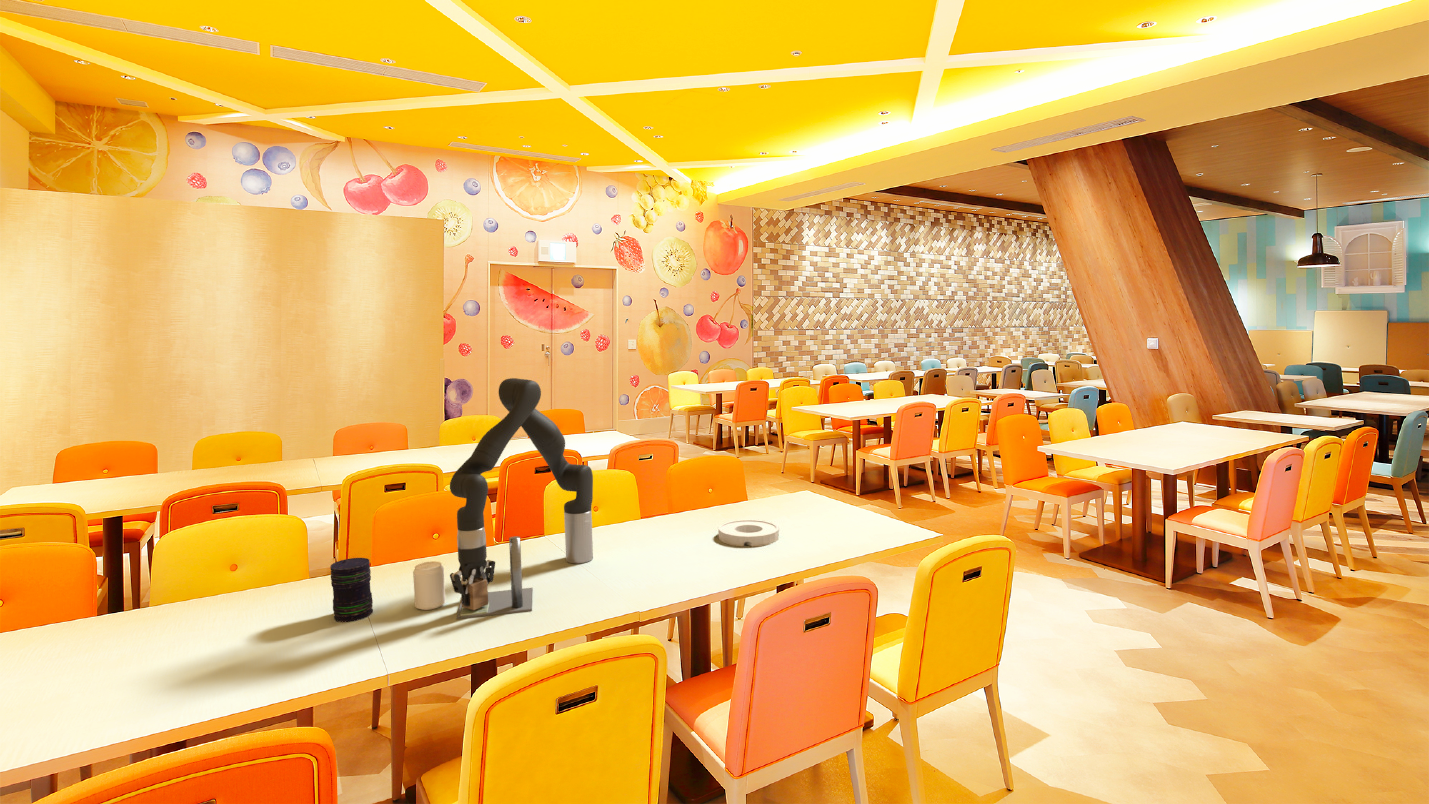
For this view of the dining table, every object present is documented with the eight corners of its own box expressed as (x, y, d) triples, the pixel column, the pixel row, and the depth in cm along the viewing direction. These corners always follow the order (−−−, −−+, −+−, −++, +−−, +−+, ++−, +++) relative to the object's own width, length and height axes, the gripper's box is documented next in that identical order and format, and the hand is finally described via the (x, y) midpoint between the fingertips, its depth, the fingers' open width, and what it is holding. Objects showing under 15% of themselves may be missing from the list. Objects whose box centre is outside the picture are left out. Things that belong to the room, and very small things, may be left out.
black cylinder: (380, 612, 192) (377, 560, 190) (347, 625, 183) (343, 571, 182) (359, 605, 197) (356, 555, 195) (326, 617, 188) (322, 565, 187)
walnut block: (476, 600, 194) (475, 577, 194) (488, 604, 192) (487, 580, 191) (462, 606, 190) (460, 582, 189) (473, 610, 187) (472, 585, 187)
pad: (463, 606, 193) (463, 605, 193) (488, 603, 195) (488, 602, 195) (461, 615, 187) (460, 614, 187) (486, 613, 188) (486, 611, 188)
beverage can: (451, 601, 199) (449, 561, 198) (433, 612, 191) (430, 571, 190) (428, 599, 201) (425, 559, 200) (409, 609, 193) (406, 569, 192)
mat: (463, 596, 202) (463, 593, 202) (532, 589, 207) (532, 586, 207) (456, 619, 186) (456, 615, 186) (531, 610, 191) (531, 607, 191)
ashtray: (750, 526, 274) (750, 516, 274) (792, 538, 256) (791, 528, 256) (706, 537, 259) (705, 527, 259) (746, 551, 242) (746, 540, 241)
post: (512, 604, 194) (509, 536, 192) (523, 603, 194) (520, 535, 193) (511, 609, 191) (508, 539, 189) (522, 607, 192) (520, 538, 190)
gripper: (483, 535, 197) (486, 591, 199) (441, 548, 185) (444, 608, 187) (501, 538, 193) (504, 596, 195) (458, 552, 181) (462, 614, 183)
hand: (474, 602), depth 191 cm, fingers closed on walnut block, 5 cm apart
